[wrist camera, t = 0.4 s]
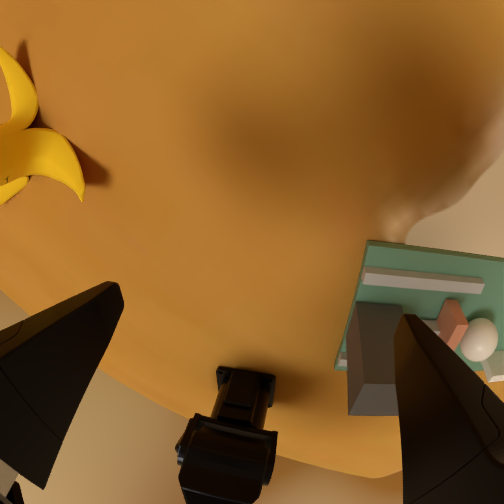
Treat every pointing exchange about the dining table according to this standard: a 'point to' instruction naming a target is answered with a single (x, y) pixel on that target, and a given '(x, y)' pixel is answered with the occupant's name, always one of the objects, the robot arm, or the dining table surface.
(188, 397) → the dining table surface
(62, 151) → the banana peel
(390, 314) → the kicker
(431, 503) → the robot arm
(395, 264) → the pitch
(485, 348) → the ball
